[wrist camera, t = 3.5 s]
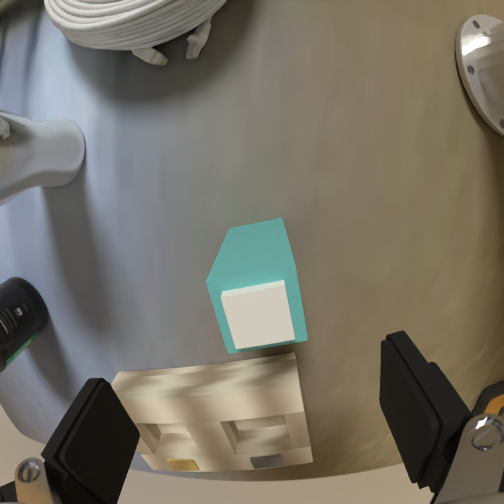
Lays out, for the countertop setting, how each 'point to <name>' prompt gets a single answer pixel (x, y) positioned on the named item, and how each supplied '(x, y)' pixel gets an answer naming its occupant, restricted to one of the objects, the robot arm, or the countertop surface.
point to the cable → (134, 24)
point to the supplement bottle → (19, 318)
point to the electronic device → (491, 401)
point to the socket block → (219, 415)
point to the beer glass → (37, 153)
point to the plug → (257, 288)
